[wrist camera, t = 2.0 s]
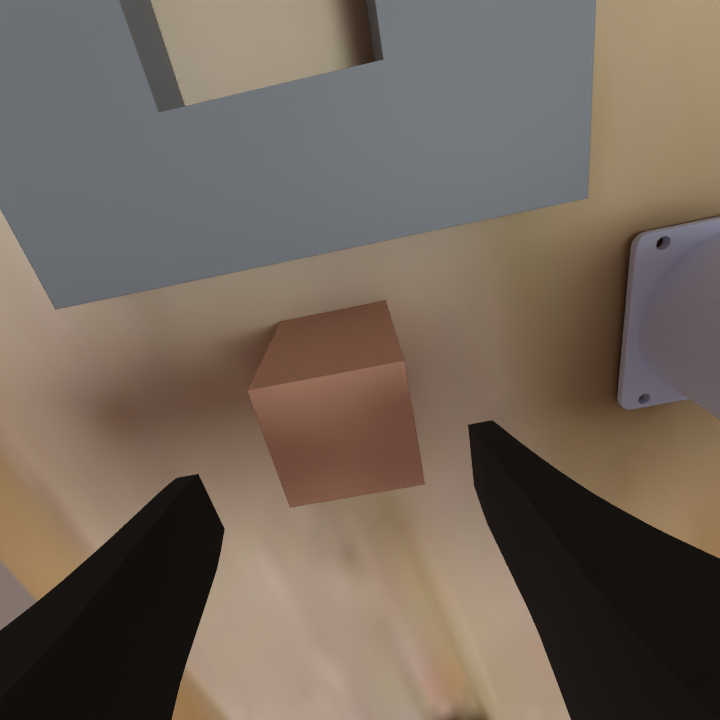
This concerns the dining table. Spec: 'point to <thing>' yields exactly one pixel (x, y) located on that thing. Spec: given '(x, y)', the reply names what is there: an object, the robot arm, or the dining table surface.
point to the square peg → (337, 406)
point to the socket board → (280, 140)
